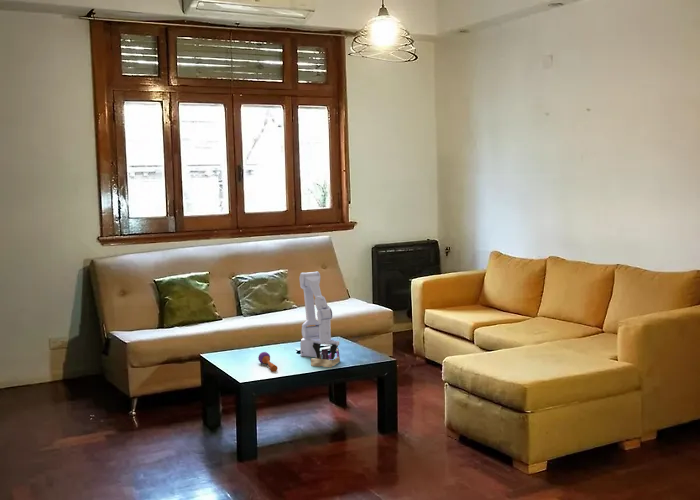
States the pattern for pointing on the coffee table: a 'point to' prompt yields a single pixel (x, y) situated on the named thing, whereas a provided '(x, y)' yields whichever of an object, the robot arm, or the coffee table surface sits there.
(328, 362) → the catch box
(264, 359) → the kendama
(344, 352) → the coffee table surface
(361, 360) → the coffee table surface
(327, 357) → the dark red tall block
